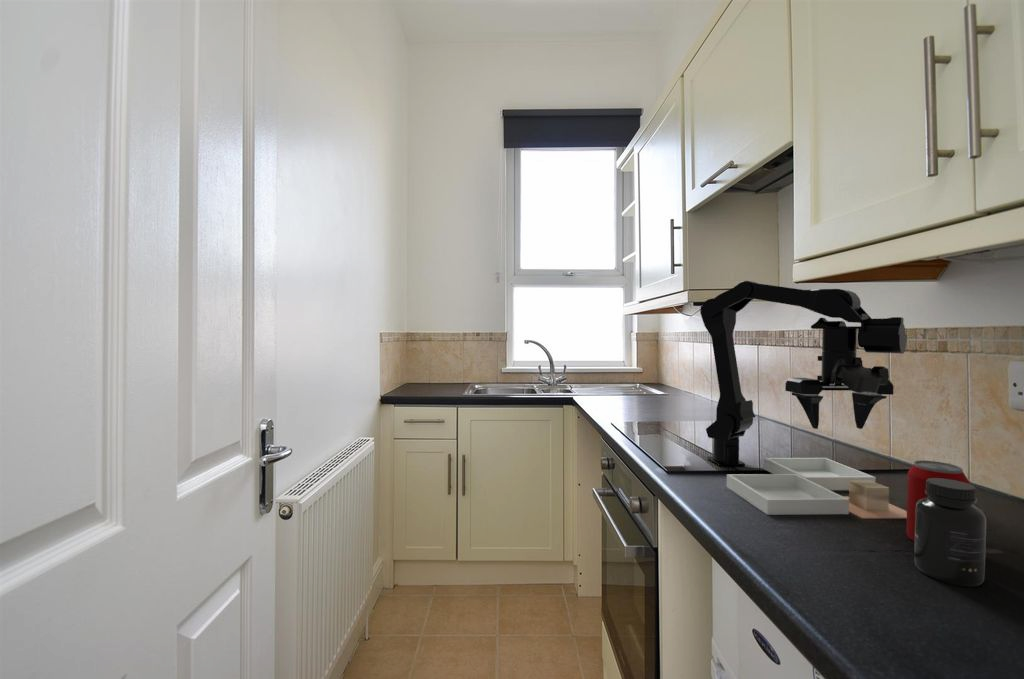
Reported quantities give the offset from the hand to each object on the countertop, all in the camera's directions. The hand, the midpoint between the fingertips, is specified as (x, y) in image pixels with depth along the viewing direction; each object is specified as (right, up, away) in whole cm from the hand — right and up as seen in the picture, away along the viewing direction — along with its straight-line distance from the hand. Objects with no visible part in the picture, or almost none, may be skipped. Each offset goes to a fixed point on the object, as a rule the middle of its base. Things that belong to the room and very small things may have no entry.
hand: (837, 428), depth 96 cm
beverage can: (-3, -13, -26) cm, 29 cm away
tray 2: (-2, -12, +4) cm, 13 cm away
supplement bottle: (-9, -13, -34) cm, 37 cm away
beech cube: (-3, -12, -12) cm, 17 cm away
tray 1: (-16, -12, -8) cm, 22 cm away
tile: (-3, -12, -12) cm, 17 cm away
